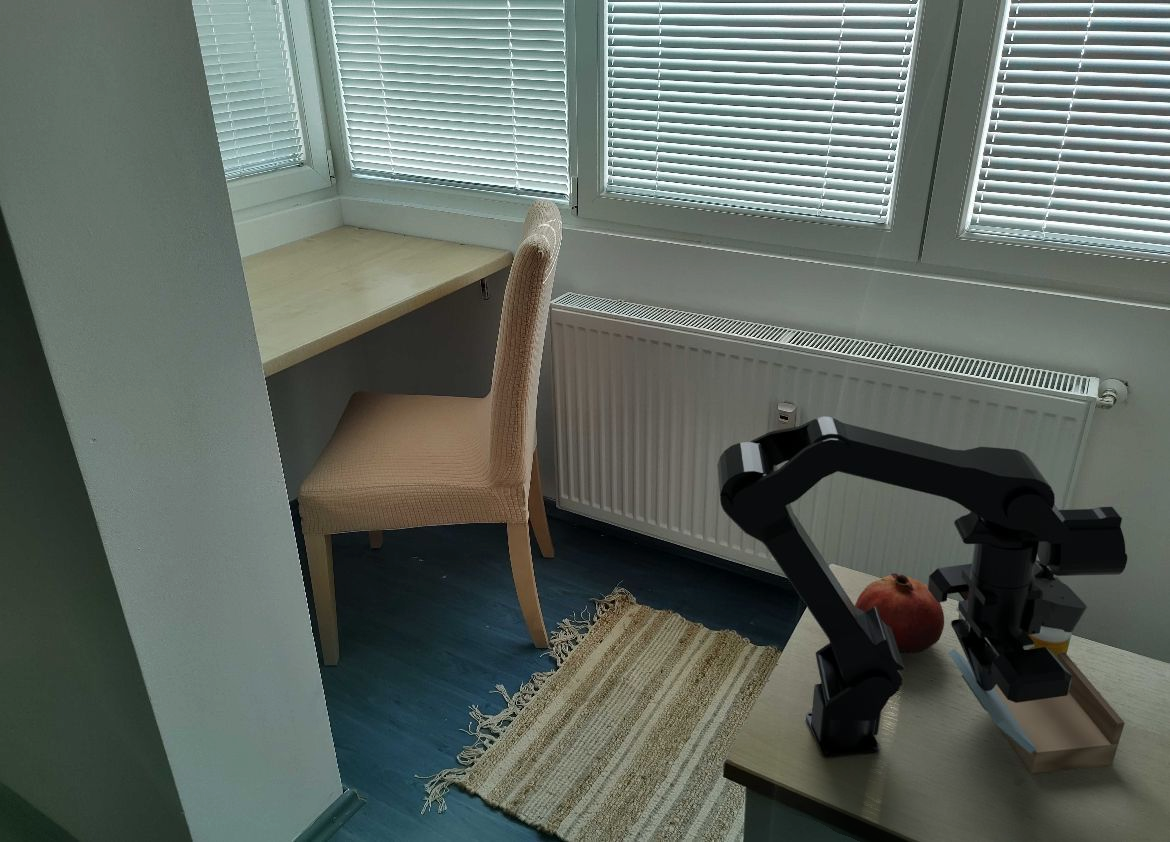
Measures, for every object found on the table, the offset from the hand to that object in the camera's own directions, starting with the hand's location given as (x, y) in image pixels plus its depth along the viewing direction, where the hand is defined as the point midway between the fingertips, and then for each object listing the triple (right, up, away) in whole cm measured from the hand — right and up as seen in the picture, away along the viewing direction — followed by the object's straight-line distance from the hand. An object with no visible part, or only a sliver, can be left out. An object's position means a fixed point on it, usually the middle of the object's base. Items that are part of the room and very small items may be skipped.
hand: (985, 688), depth 98 cm
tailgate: (+3, -4, +2) cm, 5 cm away
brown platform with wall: (+8, -6, +4) cm, 11 cm away
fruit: (-4, 0, +18) cm, 18 cm away
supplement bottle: (+12, -2, +13) cm, 17 cm away
